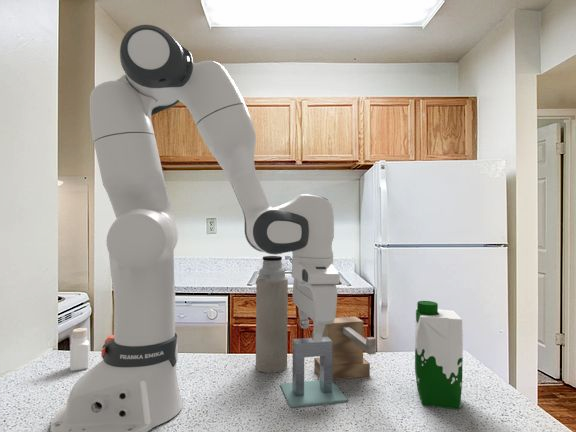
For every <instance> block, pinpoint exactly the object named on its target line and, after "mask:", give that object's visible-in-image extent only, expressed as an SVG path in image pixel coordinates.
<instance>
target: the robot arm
mask: <svg viewBox="0 0 576 432" xmlns="http://www.w3.org/2000/svg"><path fill="white" fill-rule="evenodd" d="M119 59H120V64H121V67H122V69H123V71H124V73H125V74H122V75H121V77H120V78H118V79H116V80H109V81H103V82H102V83H99V84H97V85H96V86H94V88H93V89H92V91H91V93H90V96H89V119H90V128H91V135H92V140H93V145H94V149H95V153H96V159H97V165H98V168H99V173H100V176H101V177H100V178H101V182H102V185H103V187H104V189H105V191H106V194H107V196H108V198H109V201H110V204H111V206H112V210H113V212H114V215H115V217H116V218H115V220H114V222H113V223H112V224H111V226H110V228H109V230H108V233H107V235H106V247H107V251H108V255H109V256H108V258H109V270H110V277H111V283H112V290H113V298H114V302H113V303H114V312H113V314H114V315H113V316H114V319H113V320H114V323H113V325H114V328H113V329H114V330H113V334H110V335H108V337H107V338H106V339H105V340H104V344H103V345H102V349H100V351H101V353H100V355H101V357H102V360H101V361H100V362H98V363H97V364H96V365H95V366H93V367H92V368H91V369H90V370H88V372H86V373H85V374H83V375H82V376H81V377H80V378H78V380H77V381H76V382H75V384H74V385H73V386H72V388H71V390H70V392H69V395H68V399H67V401H66V404H64V405H63V406H62V407H61V408H60V409H59V410H58V412H57V413H56V414H55V415H54V417H53V418H52V421H51V423H50V430H49V432H149V431H151V430H153V428H155V427H157V426H159V425H161V424H164V423H167V422H168V421H169V420H171V419H173V418H174V417H176V416H177V415H178V414H179V413H180V411H181V410H182V408H183V405H184V403H183V399H182V396H181V392H180V387H179V381H178V374H177V365H176V364H177V361H178V354H179V352H178V350H179V349H178V348H179V346H178V345H179V344H178V343H179V341H178V335H177V333H176V288H175V287H176V286H175V263H174V262H175V260H174V256H175V255H174V252H175V248H176V247H177V243H178V239H179V237H178V236H179V234H178V233H179V232H178V229H177V224H176V219H175V214H174V211H173V207H172V203H171V200H170V196H169V192H168V187H167V183H166V181H165V177H164V171H163V169H162V162H161V158H160V153H159V149H158V144H157V140H156V135H155V130H154V127H153V121H152V116H153V115H156V114H159V113H161V112H162V111H164V110H168V109H171V108H173V107H175V106H176V105H178V104H179V102H180V103H182V104H183V105H184V106H185V107H186V108H187V110H188V111H189V113H190V115H191V117H192V120H193V122H194V124H195V126H196V129H197V131H198V133H199V135H200V137H201V138H202V140H203V142H204V144H205V145H206V147H207V149H208V150H209V152H210V153H211V155H212V156H213V157H214V159H215V160H216V161H217V163H218V164H219V166H220V168H221V169H222V171H223V172H224V173H225V175H226V177H227V178H228V180H229V183H230V184H231V187H232V189H233V191H234V194H235V197H236V199H237V201H238V203H239V205H240V208H241V210H242V211H241V212H242V214H243V216H244V217H243V218H244V235H245V239H246V241H247V243H248V245H249V246H251V247H252V249H254V250H256V251H257V252H260V253H261V252H262V253H264V254H265V253H266V254H268V255H272V256H278V255H281V254H285V253H290V252H292V259H291V278H293V282H292V283H293V284H292V285H293V286H292V302H293V303H294V305H296V306H297V308H298V315H299V327H301V329H303V330H304V329H309V328H310V320H312V321H313V322H312V323H313V324H312V325H313V331H311V338H312V340H313V341H314V342H322V334H323V331H324V328H325V324H333V322H334V320H335V318H336V315H337V305H338V303H337V302H338V287H337V286H336V285H339V284H340V282H341V277H340V276H341V275H340V273H339V272H338V270H337V269H336V267H335V263H334V252H333V246H332V245H333V241H334V238H335V237H334V236H335V218H334V217H335V216H334V209H333V208H334V207H333V205H332V203H331V201H330V200H329V199H328V198H326V197H325V196H320V195H317V194H312V193H300V194H298V195H297V196H296V197H294V198H292V199H291V200H289V201H287V202H285V203H282V204H280V205H278V206H274V207H273V206H271V204H270V202H269V201H268V198H267V196H266V193H265V191H264V189H263V186H262V184H261V182H260V179H259V177H258V174H257V171H256V166H255V149H256V142H257V135H256V131H255V126H254V123H253V119H252V117H251V114H250V112H249V109H248V107H247V105H246V102H245V100H244V98H243V96H242V94H241V93H240V90H239V89H238V87H237V85H236V83H235V82H234V80H233V79H232V77H231V75H230V74H229V73H228V71H227V69H225V67H224V66H223V65H222V64H220V62H217V61H214V60H203V61H199V62H194V59H193V55H192V52H191V51H189V50H188V49H187V48H185V47H184V46H183V45H182V44H180V43H179V42H178V41H177V40H176V39H175V38H174V37H173V36H172V35H171V34H169V33H168V32H167V31H166V30H164V29H162V28H161V27H158V26H156V25H153V24H140V25H137V26H135V27H132V28H131V29H129V30H128V31H127V32H126V33H125V34H124V37H123V38H122V39H121V44H120V48H119ZM309 319H310V320H309Z"/></svg>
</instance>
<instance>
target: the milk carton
mask: <svg viewBox="0 0 576 432" xmlns="http://www.w3.org/2000/svg"><path fill="white" fill-rule="evenodd" d="M416 305H417V307H416V308H415V321H414V323H415V324H414V325H415V326H414V327H415V329H414V373H415V381H416V387H417V392H418V395H419V398H420V402H421V405H422V406H427V407H438V408H445V409H455V410H461V402H462V390H463V389H462V388H463V363H464V362H463V351H464V350H463V345H464V344H463V343H464V342H463V336H464V335H463V318H462V317H461V316H459V315H458V314H457V313H456V311H454V310H453V309H452V310H451V309H450V310H449V309H441V308H438V307H439V305H438V302H436V301H430V300H420V301H417V303H416Z"/></svg>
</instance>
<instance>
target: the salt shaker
mask: <svg viewBox="0 0 576 432" xmlns="http://www.w3.org/2000/svg"><path fill="white" fill-rule="evenodd" d="M71 333H72V335H71V336H72V342H71V343H70V345H69V347H70V350H69V351H70V352H69V353H70V354H69V355H70V357H69V359H70V360H69V361H70V362H69V371H71V372H74V371H81V370H87V369H88V368H89V366H90V362H89V361H90V341H89V340H88V328H87V327H78V328H74V329H73V330H72V332H71Z"/></svg>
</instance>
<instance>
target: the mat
mask: <svg viewBox="0 0 576 432" xmlns="http://www.w3.org/2000/svg"><path fill="white" fill-rule="evenodd" d="M279 386H280V389H281V390H282V392H283V394H284V397H285V399H286V401H287V404H288V406H289V408H292V409H293V408H302V407H311V406H319V405H320V406H321V405H327V404H336V403H346V402H348V399H347V397H346V396H345V394H343V392H342V391H341V390H340V389H339V387H338V386H337V384H336V383H335V382H334V381H333V380H332V393H325V394H324V393H323V391H322V390H321V388H320V379H317V380H314V379H313V380H306V381H305V380H304V396H295V394H294V392H293V390H292V382H288V383H287V382H286V383H285V382H284V383H280V384H279Z"/></svg>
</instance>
